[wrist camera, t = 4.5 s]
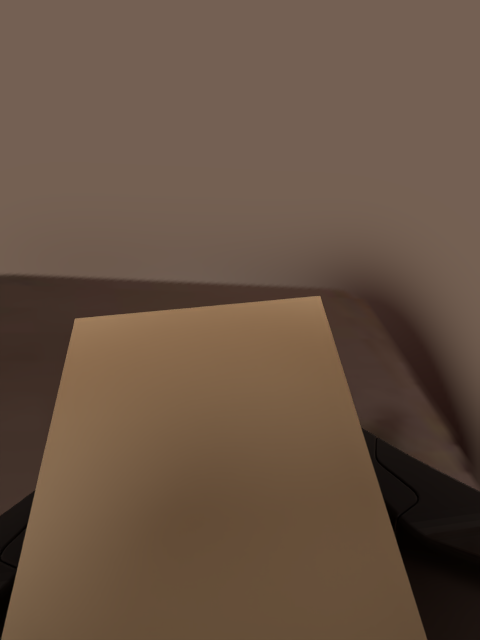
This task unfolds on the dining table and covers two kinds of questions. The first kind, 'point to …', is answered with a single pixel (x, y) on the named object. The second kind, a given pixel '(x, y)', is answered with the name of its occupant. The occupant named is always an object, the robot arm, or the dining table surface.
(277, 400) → the birch finger
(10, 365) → the dining table surface
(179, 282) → the dining table surface
